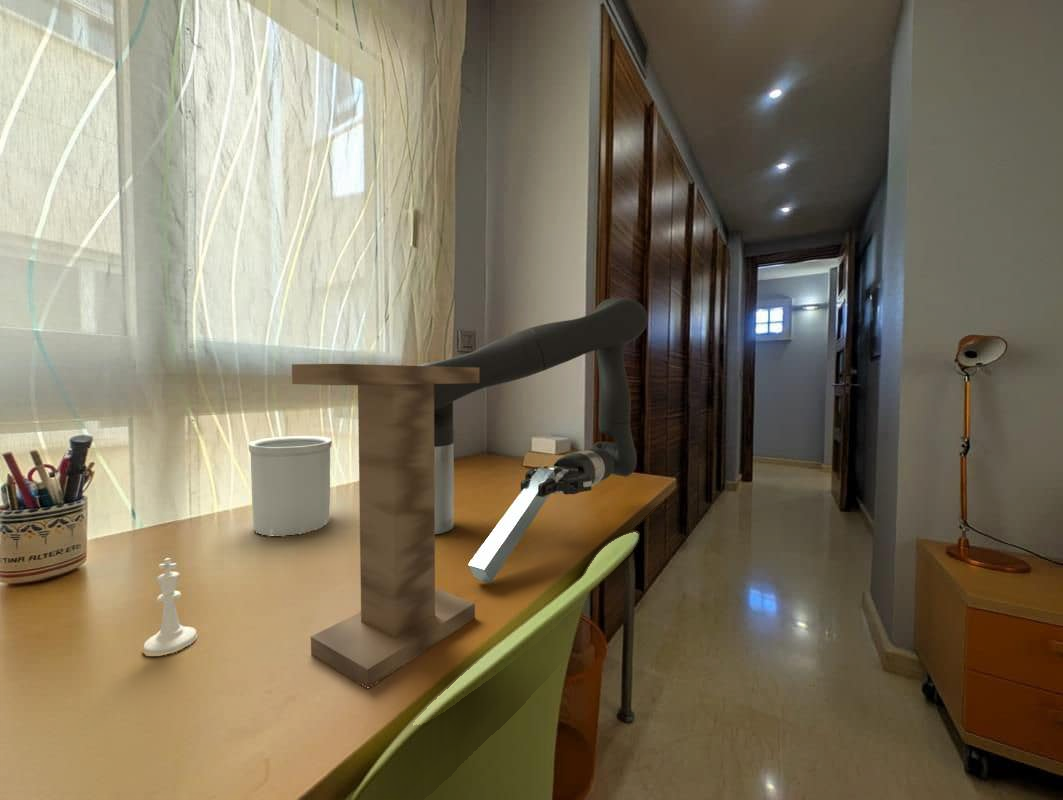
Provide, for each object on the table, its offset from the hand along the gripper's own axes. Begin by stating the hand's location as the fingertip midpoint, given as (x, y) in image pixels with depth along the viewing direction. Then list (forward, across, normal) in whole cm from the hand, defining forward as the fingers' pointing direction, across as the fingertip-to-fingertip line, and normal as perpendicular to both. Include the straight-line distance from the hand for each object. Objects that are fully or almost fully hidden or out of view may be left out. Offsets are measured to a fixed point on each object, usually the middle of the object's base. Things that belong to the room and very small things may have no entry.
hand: (531, 489), depth 77 cm
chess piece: (+44, -20, +12) cm, 50 cm away
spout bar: (+3, 0, +5) cm, 6 cm away
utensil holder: (+14, -49, +12) cm, 52 cm away
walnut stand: (+28, 0, +12) cm, 31 cm away
